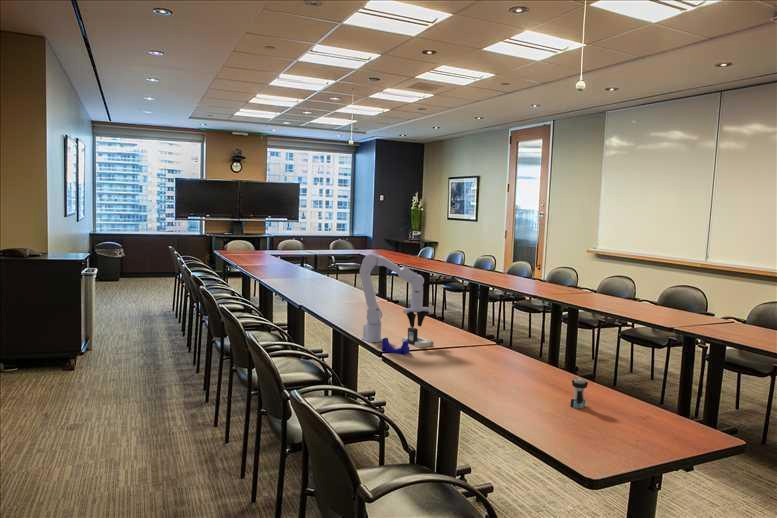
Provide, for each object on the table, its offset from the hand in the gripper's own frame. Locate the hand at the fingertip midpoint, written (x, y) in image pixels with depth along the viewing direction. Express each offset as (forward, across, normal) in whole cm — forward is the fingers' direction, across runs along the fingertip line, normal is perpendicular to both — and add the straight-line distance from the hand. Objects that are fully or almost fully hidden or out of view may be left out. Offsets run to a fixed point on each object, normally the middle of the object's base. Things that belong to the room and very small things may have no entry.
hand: (415, 326), depth 274 cm
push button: (+9, -2, -98) cm, 98 cm away
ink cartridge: (+9, -1, +1) cm, 9 cm away
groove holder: (+9, +1, 0) cm, 9 cm away
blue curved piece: (+9, -18, -8) cm, 22 cm away
